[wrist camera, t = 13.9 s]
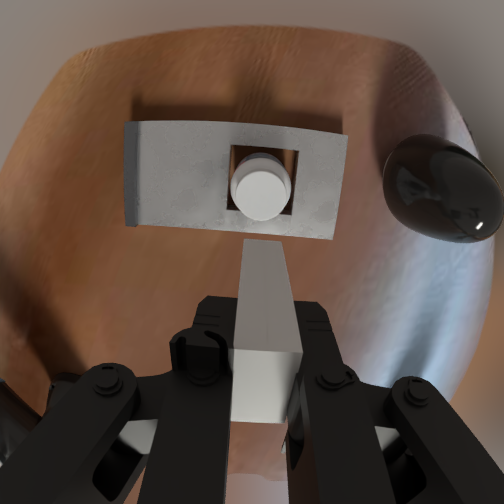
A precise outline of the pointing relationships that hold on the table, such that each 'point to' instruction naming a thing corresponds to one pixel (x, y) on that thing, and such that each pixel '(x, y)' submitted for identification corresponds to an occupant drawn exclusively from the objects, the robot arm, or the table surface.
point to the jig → (227, 176)
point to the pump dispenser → (442, 190)
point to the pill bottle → (260, 186)
